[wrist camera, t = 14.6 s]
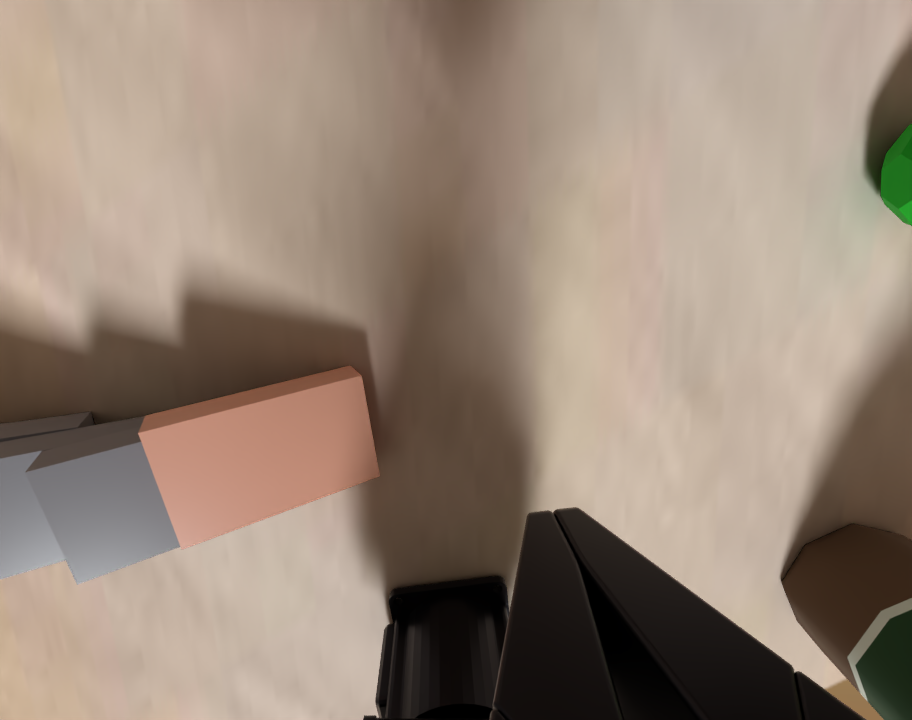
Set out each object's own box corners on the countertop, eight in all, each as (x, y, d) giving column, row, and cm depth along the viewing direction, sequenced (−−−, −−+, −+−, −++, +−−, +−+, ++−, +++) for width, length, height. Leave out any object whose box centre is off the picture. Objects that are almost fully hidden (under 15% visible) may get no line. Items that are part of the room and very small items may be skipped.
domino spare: (361, 375, 18) (137, 433, 15) (380, 476, 20) (181, 549, 16) (350, 365, 20) (145, 415, 16) (368, 459, 21) (184, 523, 18)
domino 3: (167, 426, 18) (-111, 480, 15) (190, 524, 20) (-57, 595, 16) (170, 411, 20) (-82, 456, 16) (191, 503, 21) (-35, 564, 18)
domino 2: (268, 408, 18) (25, 472, 15) (292, 505, 20) (77, 584, 16) (263, 395, 20) (41, 451, 16) (286, 487, 22) (88, 556, 18)
